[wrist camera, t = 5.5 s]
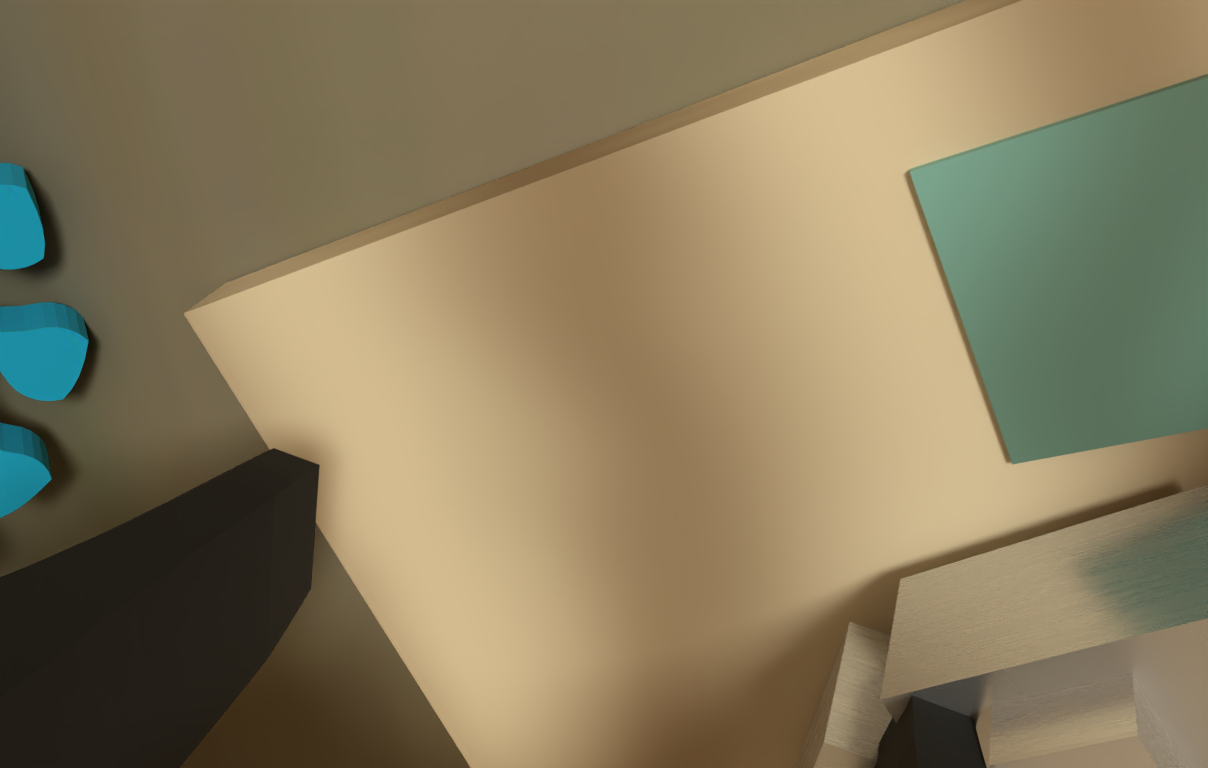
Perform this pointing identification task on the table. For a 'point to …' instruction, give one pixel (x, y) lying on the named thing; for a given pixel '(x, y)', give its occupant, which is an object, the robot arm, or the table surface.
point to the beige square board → (751, 374)
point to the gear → (31, 343)
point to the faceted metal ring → (1044, 649)
